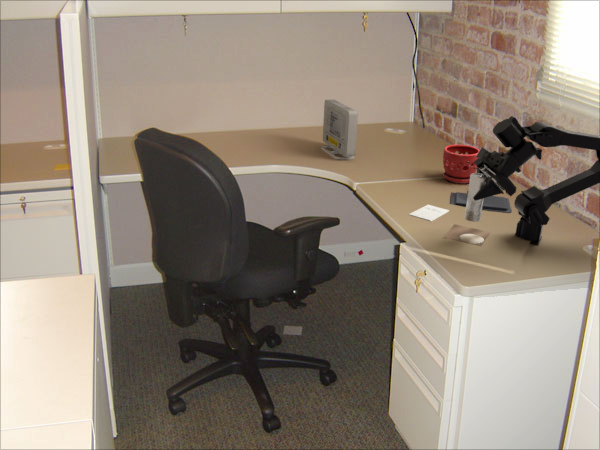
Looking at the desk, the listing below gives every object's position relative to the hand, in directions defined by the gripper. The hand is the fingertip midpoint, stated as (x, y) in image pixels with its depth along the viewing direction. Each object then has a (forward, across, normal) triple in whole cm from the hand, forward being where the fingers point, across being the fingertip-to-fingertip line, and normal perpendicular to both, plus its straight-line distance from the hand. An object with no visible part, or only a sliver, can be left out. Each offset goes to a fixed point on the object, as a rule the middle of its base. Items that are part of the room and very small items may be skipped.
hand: (471, 196), depth 180 cm
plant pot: (-2, -55, +22) cm, 59 cm away
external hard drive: (+13, -20, +7) cm, 25 cm away
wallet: (-1, -31, +22) cm, 38 cm away
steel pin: (+4, 0, +6) cm, 7 cm away
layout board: (+9, -2, +10) cm, 14 cm away
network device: (+26, -91, -6) cm, 95 cm away
